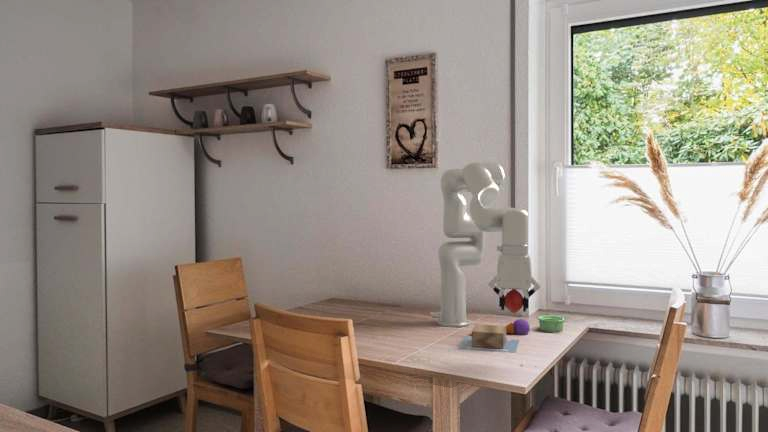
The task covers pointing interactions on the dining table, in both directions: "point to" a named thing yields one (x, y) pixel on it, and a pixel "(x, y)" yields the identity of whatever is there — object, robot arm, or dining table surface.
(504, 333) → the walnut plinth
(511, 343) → the blueprint mat
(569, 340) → the dining table surface
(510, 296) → the onion
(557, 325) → the ramekin
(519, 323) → the maraca
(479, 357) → the dining table surface
